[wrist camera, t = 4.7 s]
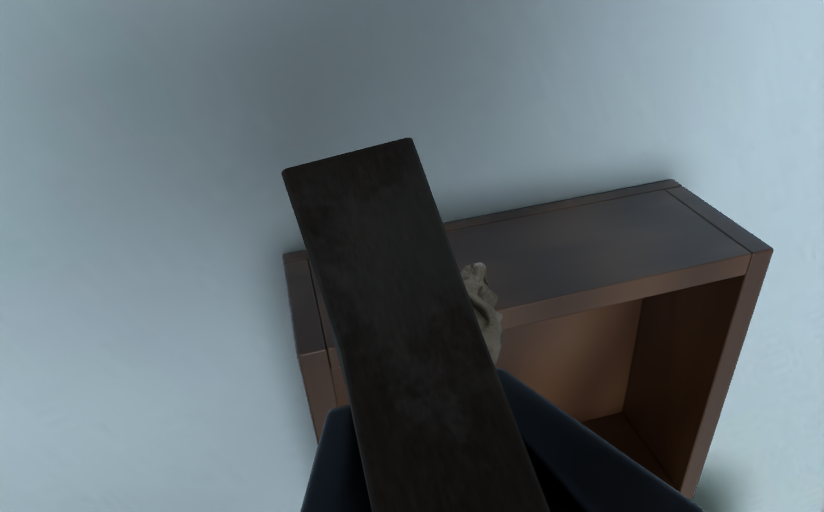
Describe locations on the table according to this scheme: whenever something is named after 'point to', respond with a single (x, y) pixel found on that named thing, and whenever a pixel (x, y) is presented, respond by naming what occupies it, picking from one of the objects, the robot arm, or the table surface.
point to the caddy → (596, 316)
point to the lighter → (411, 338)
